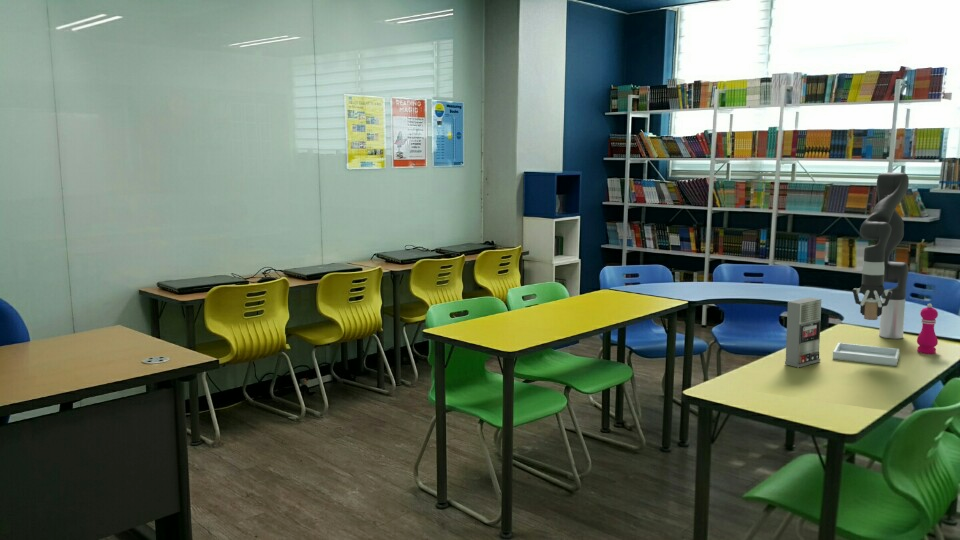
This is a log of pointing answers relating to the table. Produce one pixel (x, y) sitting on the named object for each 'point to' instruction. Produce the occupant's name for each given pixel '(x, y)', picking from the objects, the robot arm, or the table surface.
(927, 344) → the pepper mill
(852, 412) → the table surface
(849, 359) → the tray
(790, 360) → the cassette tape recorder
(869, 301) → the shaker
